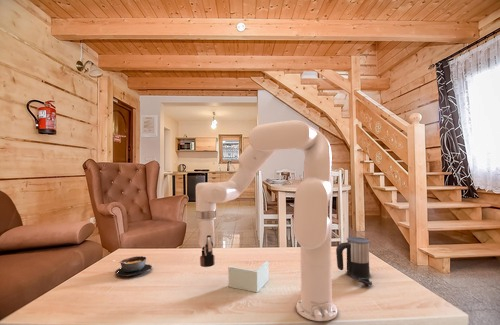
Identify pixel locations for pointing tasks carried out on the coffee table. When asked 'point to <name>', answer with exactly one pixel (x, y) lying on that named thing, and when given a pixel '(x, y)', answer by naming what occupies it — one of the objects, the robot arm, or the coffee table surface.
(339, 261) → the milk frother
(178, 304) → the coffee table surface
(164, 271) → the coffee table surface
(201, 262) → the brown cylinder
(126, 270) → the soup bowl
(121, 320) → the coffee table surface
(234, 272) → the right angle wall
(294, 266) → the coffee table surface
